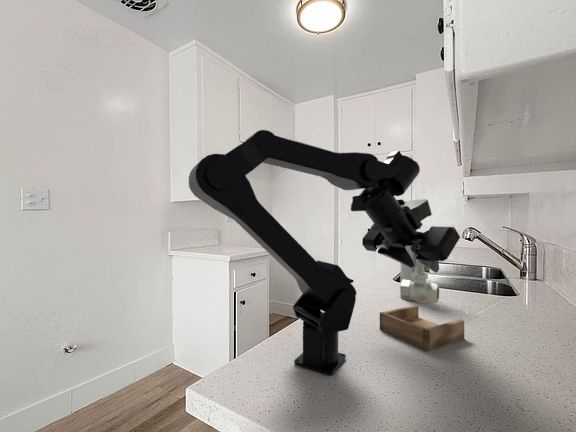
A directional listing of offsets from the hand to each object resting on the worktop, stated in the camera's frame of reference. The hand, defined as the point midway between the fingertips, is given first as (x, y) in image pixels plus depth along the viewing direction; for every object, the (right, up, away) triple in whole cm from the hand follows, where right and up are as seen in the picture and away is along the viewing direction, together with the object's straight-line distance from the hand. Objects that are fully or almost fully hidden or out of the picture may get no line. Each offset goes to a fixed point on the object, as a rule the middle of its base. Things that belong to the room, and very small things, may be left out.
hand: (424, 268), depth 58 cm
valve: (-1, -7, -1) cm, 7 cm away
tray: (-1, -13, -1) cm, 13 cm away
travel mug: (+8, -13, +25) cm, 29 cm away
